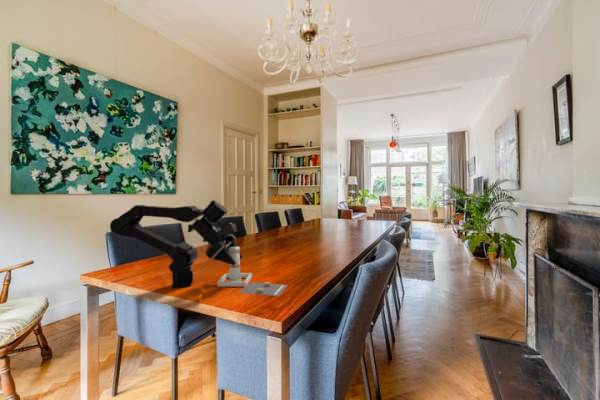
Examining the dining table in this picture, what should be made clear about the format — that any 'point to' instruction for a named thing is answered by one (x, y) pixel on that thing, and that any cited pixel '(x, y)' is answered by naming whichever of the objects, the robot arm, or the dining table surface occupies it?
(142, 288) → the dining table surface
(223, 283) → the parts tray
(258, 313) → the dining table surface
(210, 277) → the dining table surface
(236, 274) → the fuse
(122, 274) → the dining table surface
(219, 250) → the robot arm
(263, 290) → the panel
